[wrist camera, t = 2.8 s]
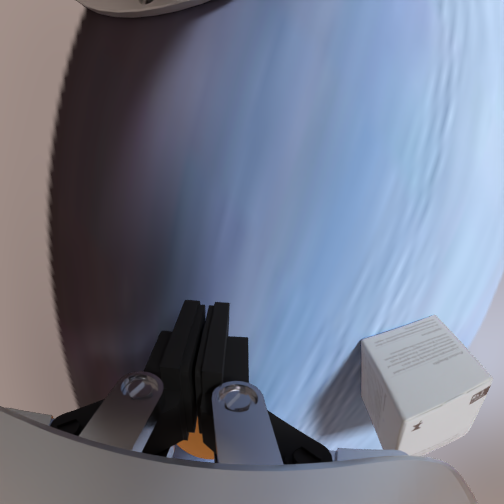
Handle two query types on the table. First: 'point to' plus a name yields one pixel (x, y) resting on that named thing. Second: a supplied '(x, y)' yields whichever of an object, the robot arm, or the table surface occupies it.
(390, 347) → the skincare box
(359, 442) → the table surface
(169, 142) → the table surface
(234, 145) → the table surface
